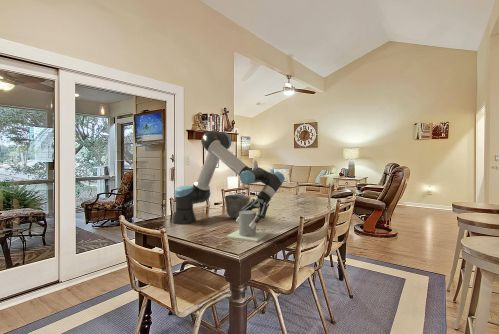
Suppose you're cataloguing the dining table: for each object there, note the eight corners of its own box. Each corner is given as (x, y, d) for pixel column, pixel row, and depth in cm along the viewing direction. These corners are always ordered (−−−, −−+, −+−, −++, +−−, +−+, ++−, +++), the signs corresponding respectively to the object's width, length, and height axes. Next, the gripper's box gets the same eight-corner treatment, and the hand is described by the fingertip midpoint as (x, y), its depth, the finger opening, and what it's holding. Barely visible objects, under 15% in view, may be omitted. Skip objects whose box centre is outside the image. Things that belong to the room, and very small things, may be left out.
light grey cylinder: (250, 237, 146) (250, 214, 145) (235, 235, 151) (235, 212, 150) (259, 233, 154) (259, 211, 153) (245, 230, 159) (244, 209, 158)
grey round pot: (218, 218, 194) (218, 197, 194) (234, 213, 209) (233, 194, 208) (238, 221, 184) (238, 199, 184) (253, 216, 199) (253, 196, 198)
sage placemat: (226, 237, 149) (226, 236, 149) (240, 230, 164) (240, 228, 163) (256, 242, 141) (256, 240, 141) (268, 234, 156) (268, 232, 156)
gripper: (283, 202, 150) (261, 234, 142) (257, 196, 170) (236, 223, 163) (276, 193, 146) (252, 225, 139) (250, 188, 167) (228, 216, 159)
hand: (243, 224), depth 151 cm, fingers open, 13 cm apart
